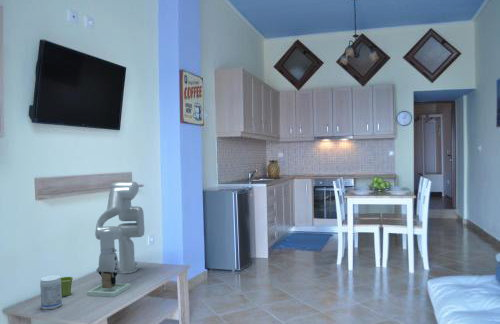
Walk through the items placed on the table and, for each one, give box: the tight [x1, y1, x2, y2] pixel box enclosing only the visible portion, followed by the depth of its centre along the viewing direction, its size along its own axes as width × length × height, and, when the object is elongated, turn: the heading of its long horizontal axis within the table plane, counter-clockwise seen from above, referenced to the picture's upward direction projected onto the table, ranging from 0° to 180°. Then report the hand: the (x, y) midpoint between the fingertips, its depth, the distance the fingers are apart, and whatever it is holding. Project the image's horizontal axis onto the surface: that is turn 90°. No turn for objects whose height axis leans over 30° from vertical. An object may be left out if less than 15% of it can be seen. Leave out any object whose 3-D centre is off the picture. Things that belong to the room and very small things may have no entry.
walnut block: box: [101, 272, 116, 288], centre depth 230 cm, size 5×5×8 cm
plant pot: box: [61, 276, 74, 298], centre depth 227 cm, size 9×9×9 cm
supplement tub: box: [39, 274, 63, 310], centre depth 209 cm, size 10×10×15 cm
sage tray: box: [86, 282, 131, 298], centre depth 230 cm, size 16×16×2 cm
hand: (108, 283), depth 230 cm, fingers closed on walnut block, 5 cm apart
